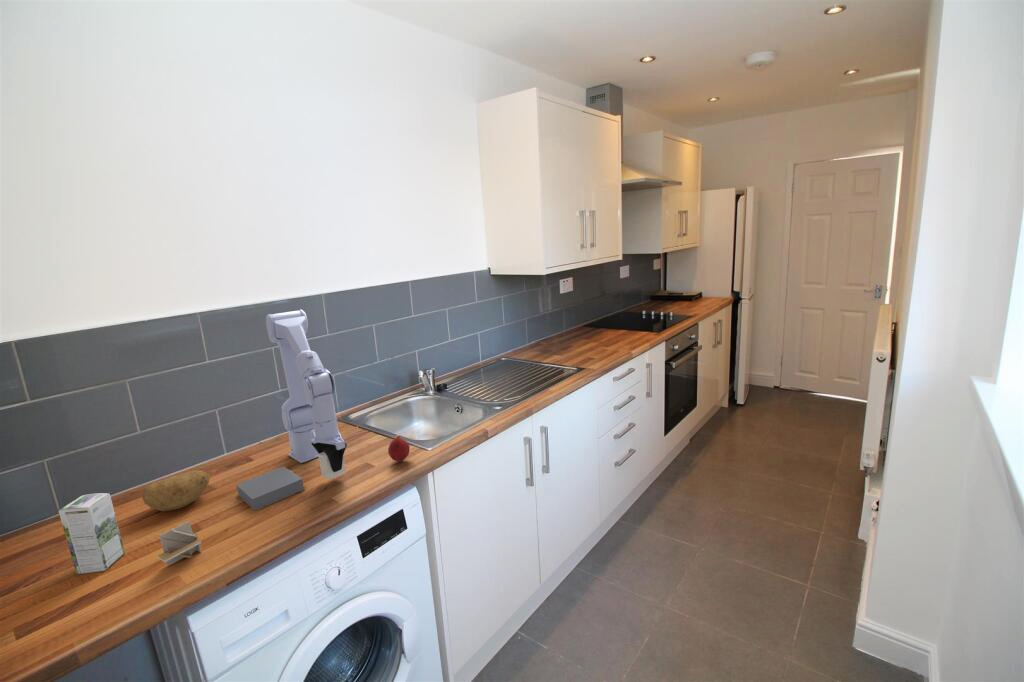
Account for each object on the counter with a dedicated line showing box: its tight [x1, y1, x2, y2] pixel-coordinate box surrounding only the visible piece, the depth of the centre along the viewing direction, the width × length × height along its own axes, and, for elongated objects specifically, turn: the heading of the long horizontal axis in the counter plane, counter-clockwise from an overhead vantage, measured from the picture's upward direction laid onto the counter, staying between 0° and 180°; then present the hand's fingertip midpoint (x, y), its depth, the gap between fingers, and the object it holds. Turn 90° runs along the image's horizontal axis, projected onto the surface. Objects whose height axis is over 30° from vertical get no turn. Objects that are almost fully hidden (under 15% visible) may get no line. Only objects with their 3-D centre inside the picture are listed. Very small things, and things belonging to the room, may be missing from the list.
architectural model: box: [157, 520, 203, 567], centre depth 96 cm, size 3×7×7 cm, turn 148°
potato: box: [142, 470, 211, 512], centre depth 119 cm, size 10×14×8 cm
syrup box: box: [58, 492, 125, 575], centre depth 97 cm, size 6×6×14 cm
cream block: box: [318, 452, 347, 480], centre depth 125 cm, size 4×4×6 cm
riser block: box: [235, 465, 305, 511], centre depth 122 cm, size 12×12×3 cm
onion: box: [387, 434, 410, 463], centre depth 133 cm, size 6×6×8 cm
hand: (332, 467), depth 125 cm, fingers closed on cream block, 4 cm apart
